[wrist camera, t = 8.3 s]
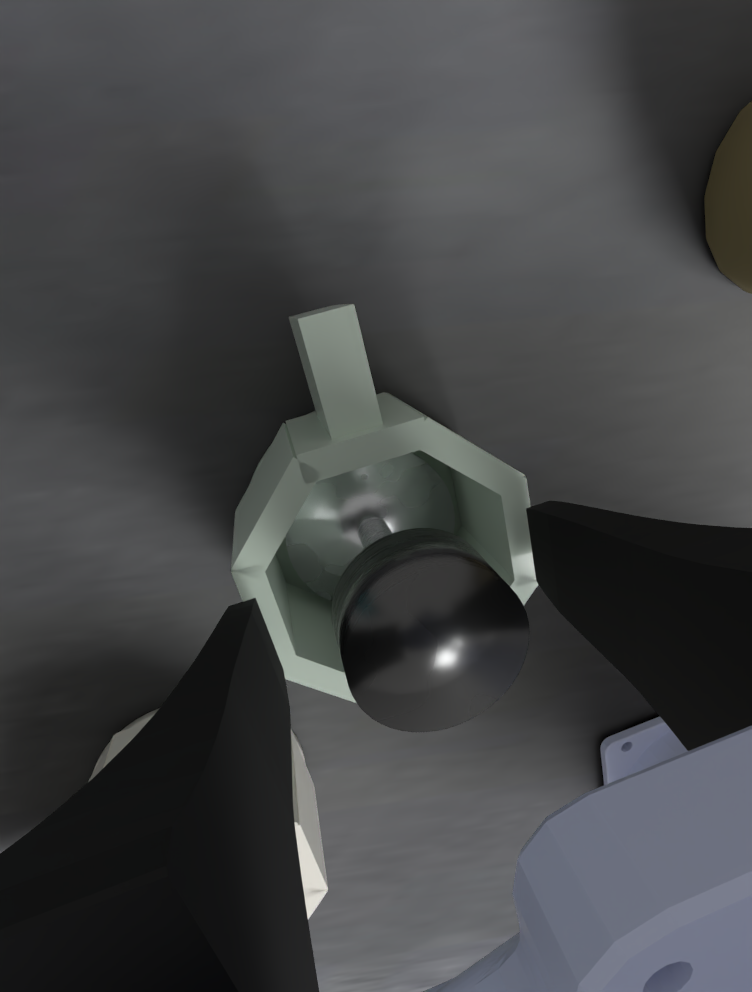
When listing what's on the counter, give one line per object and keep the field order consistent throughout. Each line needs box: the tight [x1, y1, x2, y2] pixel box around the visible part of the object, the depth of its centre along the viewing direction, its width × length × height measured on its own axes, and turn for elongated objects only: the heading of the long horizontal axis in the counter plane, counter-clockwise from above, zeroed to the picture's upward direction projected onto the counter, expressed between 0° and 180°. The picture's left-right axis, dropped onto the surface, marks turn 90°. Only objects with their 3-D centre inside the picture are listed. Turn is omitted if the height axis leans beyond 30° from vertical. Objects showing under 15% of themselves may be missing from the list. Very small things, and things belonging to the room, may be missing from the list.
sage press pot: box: [231, 304, 538, 703], centre depth 14 cm, size 10×7×4 cm
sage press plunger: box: [285, 452, 529, 732], centre depth 13 cm, size 5×5×6 cm
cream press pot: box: [88, 709, 328, 919], centre depth 17 cm, size 10×7×4 cm
